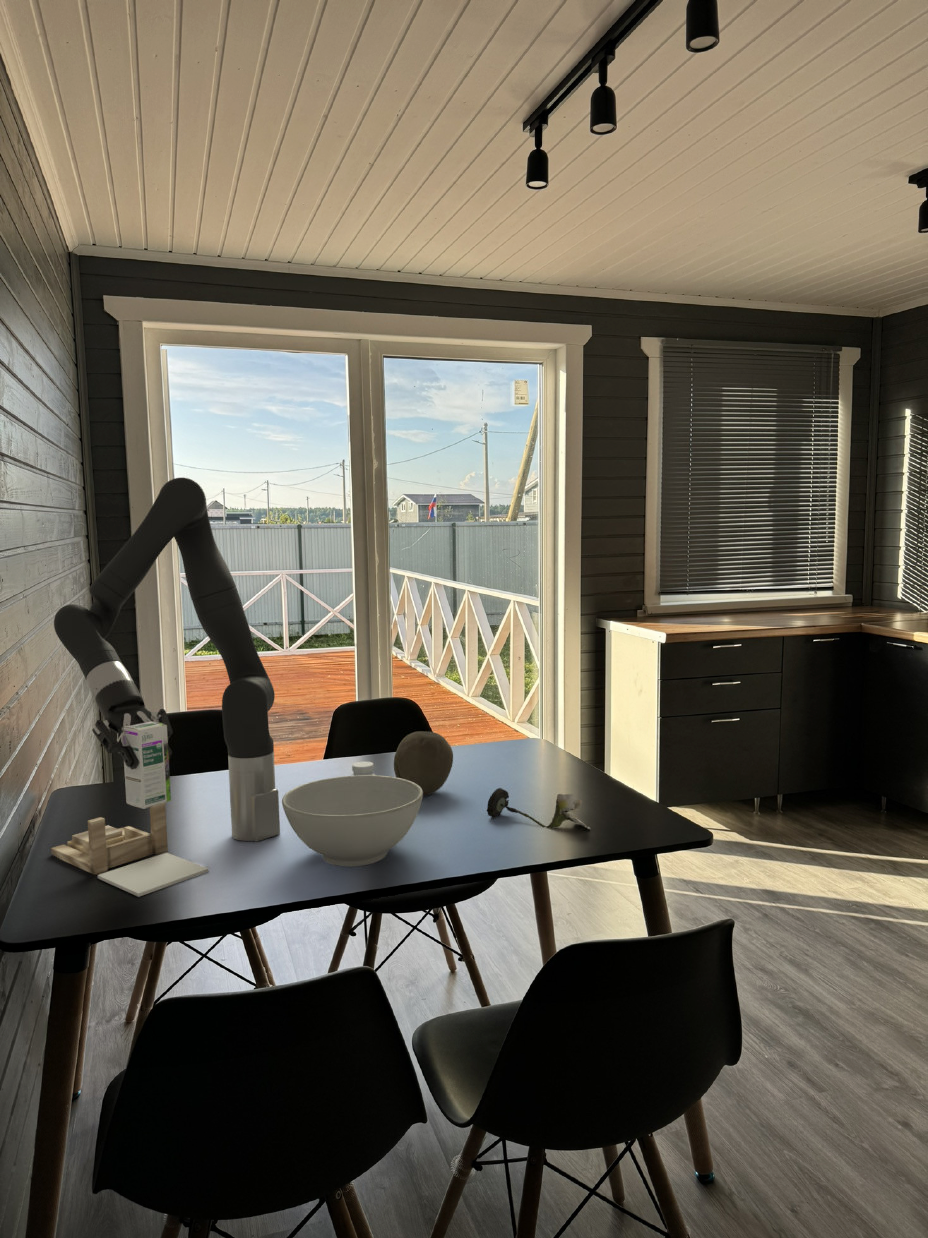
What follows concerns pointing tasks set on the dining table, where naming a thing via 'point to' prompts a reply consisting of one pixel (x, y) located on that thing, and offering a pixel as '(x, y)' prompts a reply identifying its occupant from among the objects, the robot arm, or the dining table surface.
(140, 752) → the syrup box
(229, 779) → the robot arm
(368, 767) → the pill bottle
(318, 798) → the decorative bowl
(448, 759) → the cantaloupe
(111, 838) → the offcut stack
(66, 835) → the dining table surface
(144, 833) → the birch rack
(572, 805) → the artificial flower
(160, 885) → the grey mat
